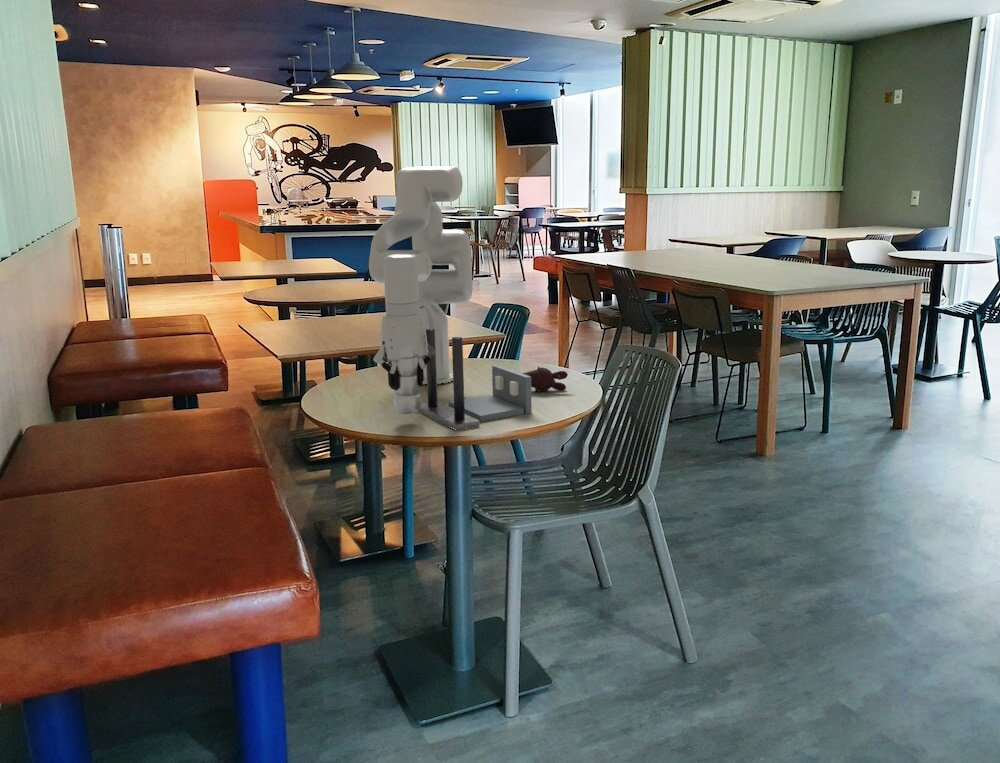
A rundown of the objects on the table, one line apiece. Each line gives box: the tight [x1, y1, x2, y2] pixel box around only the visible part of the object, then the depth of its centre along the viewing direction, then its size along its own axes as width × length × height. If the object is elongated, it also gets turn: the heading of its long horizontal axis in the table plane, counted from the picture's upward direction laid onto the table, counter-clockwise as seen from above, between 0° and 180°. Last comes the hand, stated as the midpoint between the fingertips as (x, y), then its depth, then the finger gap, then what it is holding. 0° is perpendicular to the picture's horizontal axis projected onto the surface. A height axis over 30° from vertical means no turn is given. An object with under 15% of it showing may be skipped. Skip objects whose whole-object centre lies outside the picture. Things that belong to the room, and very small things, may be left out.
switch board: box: [448, 364, 533, 423], centre depth 196 cm, size 16×14×9 cm
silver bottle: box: [393, 345, 422, 415], centre depth 184 cm, size 6×7×20 cm
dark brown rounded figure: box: [521, 366, 568, 393], centre depth 214 cm, size 7×7×15 cm
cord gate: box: [418, 329, 480, 431], centre depth 189 cm, size 22×6×20 cm, turn 31°
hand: (406, 386), depth 185 cm, fingers closed on silver bottle, 5 cm apart
